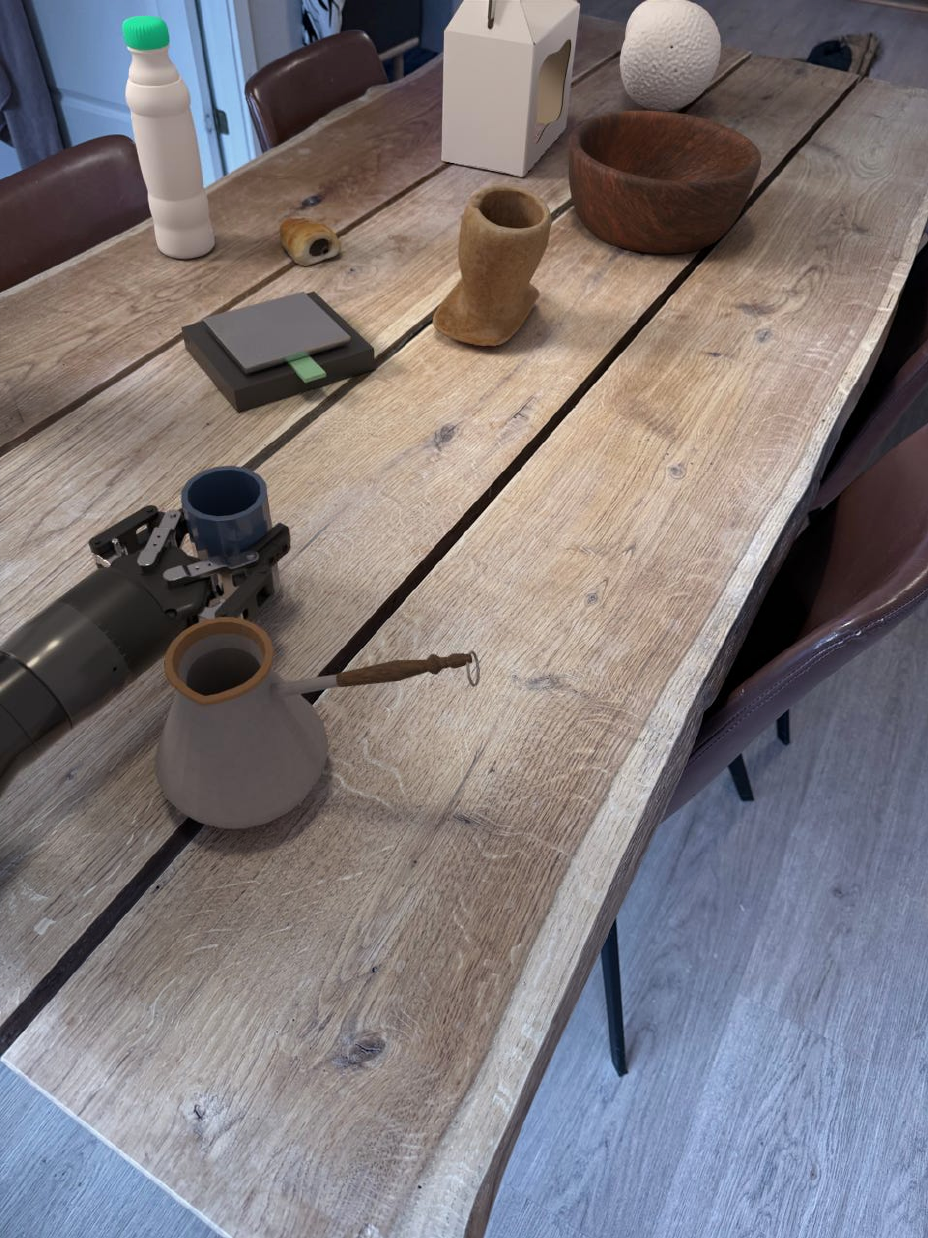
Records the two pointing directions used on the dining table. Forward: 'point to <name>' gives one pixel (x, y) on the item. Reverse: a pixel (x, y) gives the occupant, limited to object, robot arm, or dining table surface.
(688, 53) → the decorative orb
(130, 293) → the dining table surface
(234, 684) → the coffee pot
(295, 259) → the pastry
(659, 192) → the wooden bowl
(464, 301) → the stone cup
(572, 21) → the gable box
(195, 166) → the water bottle
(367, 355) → the scale
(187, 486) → the cup
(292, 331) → the scale pan
